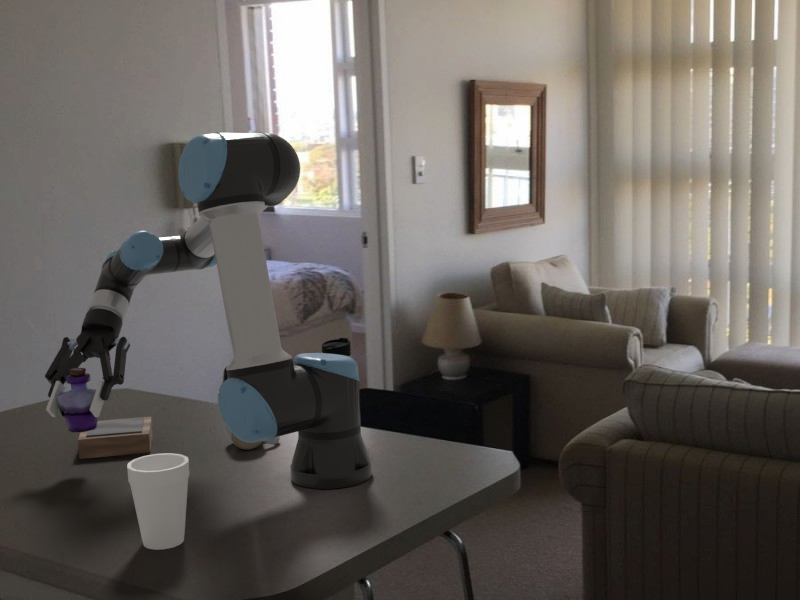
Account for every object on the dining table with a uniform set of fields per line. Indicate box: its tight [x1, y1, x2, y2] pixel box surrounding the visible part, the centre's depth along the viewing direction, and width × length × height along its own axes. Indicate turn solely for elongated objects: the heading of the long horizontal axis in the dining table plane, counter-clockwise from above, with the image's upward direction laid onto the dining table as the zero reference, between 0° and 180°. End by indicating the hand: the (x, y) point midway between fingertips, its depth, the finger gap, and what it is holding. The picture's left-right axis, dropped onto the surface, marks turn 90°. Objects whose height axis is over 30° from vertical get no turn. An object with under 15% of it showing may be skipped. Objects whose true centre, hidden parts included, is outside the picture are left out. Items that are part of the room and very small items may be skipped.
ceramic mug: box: [225, 425, 281, 451], centre depth 208 cm, size 11×8×8 cm
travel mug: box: [321, 337, 352, 358], centre depth 215 cm, size 6×7×20 cm
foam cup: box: [127, 452, 191, 551], centre depth 156 cm, size 10×9×13 cm
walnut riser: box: [77, 416, 154, 460], centre depth 210 cm, size 14×14×4 cm
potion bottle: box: [57, 367, 99, 433], centre depth 194 cm, size 9×9×12 cm
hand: (72, 413), depth 191 cm, fingers closed on potion bottle, 8 cm apart
